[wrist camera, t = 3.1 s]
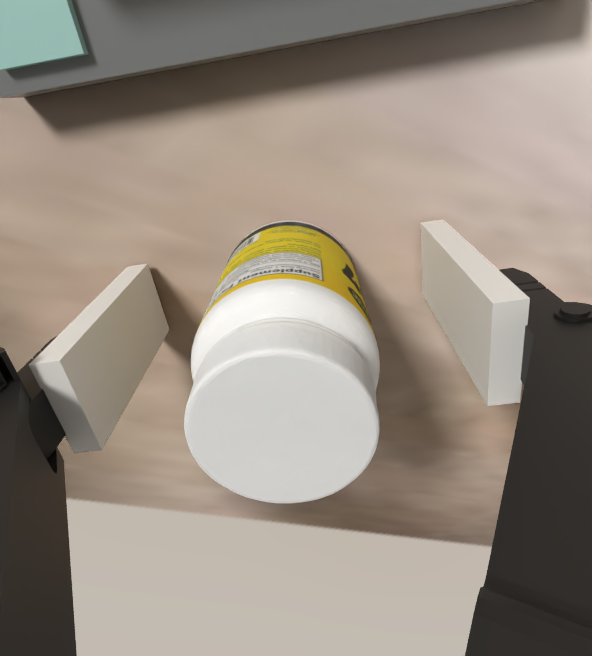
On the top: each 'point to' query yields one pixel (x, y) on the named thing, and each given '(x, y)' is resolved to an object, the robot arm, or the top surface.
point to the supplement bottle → (285, 370)
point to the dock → (181, 33)
